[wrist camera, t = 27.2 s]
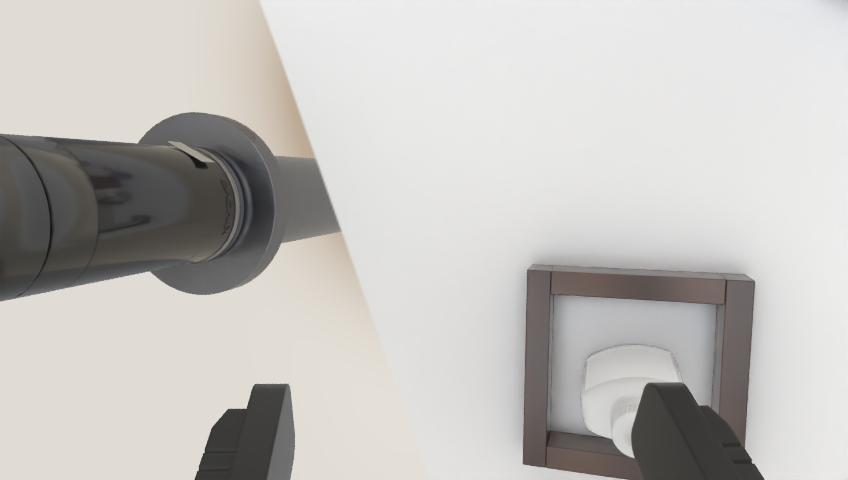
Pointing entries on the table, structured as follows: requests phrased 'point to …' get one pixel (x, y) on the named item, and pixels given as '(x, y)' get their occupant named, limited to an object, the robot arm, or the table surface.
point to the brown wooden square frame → (643, 285)
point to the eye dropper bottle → (621, 388)
